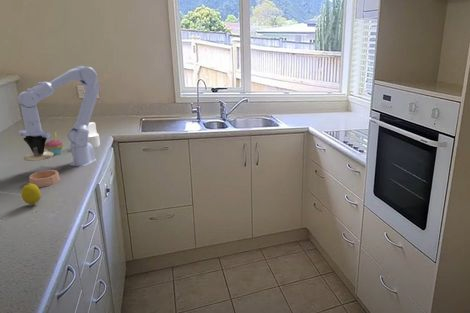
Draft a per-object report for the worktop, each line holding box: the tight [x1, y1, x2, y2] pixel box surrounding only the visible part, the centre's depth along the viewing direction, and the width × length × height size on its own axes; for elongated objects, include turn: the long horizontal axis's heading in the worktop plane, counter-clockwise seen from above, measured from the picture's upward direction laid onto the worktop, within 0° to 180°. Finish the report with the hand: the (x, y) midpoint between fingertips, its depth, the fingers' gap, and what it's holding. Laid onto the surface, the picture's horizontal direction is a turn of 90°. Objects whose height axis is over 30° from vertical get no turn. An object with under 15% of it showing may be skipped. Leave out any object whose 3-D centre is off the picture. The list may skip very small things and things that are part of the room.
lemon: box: [21, 182, 42, 206], centre depth 114 cm, size 6×6×8 cm
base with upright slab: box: [88, 121, 101, 149], centre depth 180 cm, size 9×9×12 cm
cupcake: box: [44, 129, 64, 156], centre depth 167 cm, size 9×8×12 cm
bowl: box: [28, 170, 60, 188], centre depth 133 cm, size 10×10×4 cm
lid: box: [23, 147, 55, 162], centre depth 141 cm, size 11×11×4 cm
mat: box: [20, 165, 64, 177], centre depth 144 cm, size 12×12×1 cm
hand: (38, 153), depth 141 cm, fingers closed on lid, 2 cm apart
